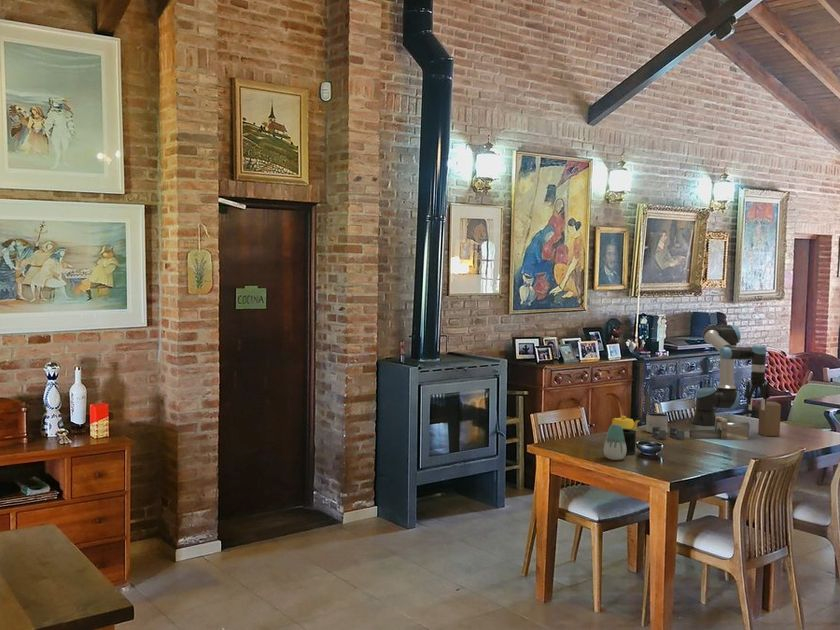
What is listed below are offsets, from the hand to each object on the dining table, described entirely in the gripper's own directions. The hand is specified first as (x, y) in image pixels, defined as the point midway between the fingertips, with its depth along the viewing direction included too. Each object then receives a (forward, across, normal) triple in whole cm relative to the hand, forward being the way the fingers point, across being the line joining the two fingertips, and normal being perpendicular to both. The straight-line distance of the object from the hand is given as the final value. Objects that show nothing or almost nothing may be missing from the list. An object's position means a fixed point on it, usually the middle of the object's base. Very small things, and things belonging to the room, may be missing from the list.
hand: (756, 409), depth 481 cm
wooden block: (+17, +14, +10) cm, 24 cm away
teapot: (+17, -80, 0) cm, 82 cm away
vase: (+17, -105, -54) cm, 119 cm away
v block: (+17, -54, 0) cm, 57 cm away
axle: (+10, -14, 0) cm, 17 cm away
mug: (+17, -95, -38) cm, 104 cm away
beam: (+17, -23, 0) cm, 28 cm away
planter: (+17, -54, +17) cm, 59 cm away
